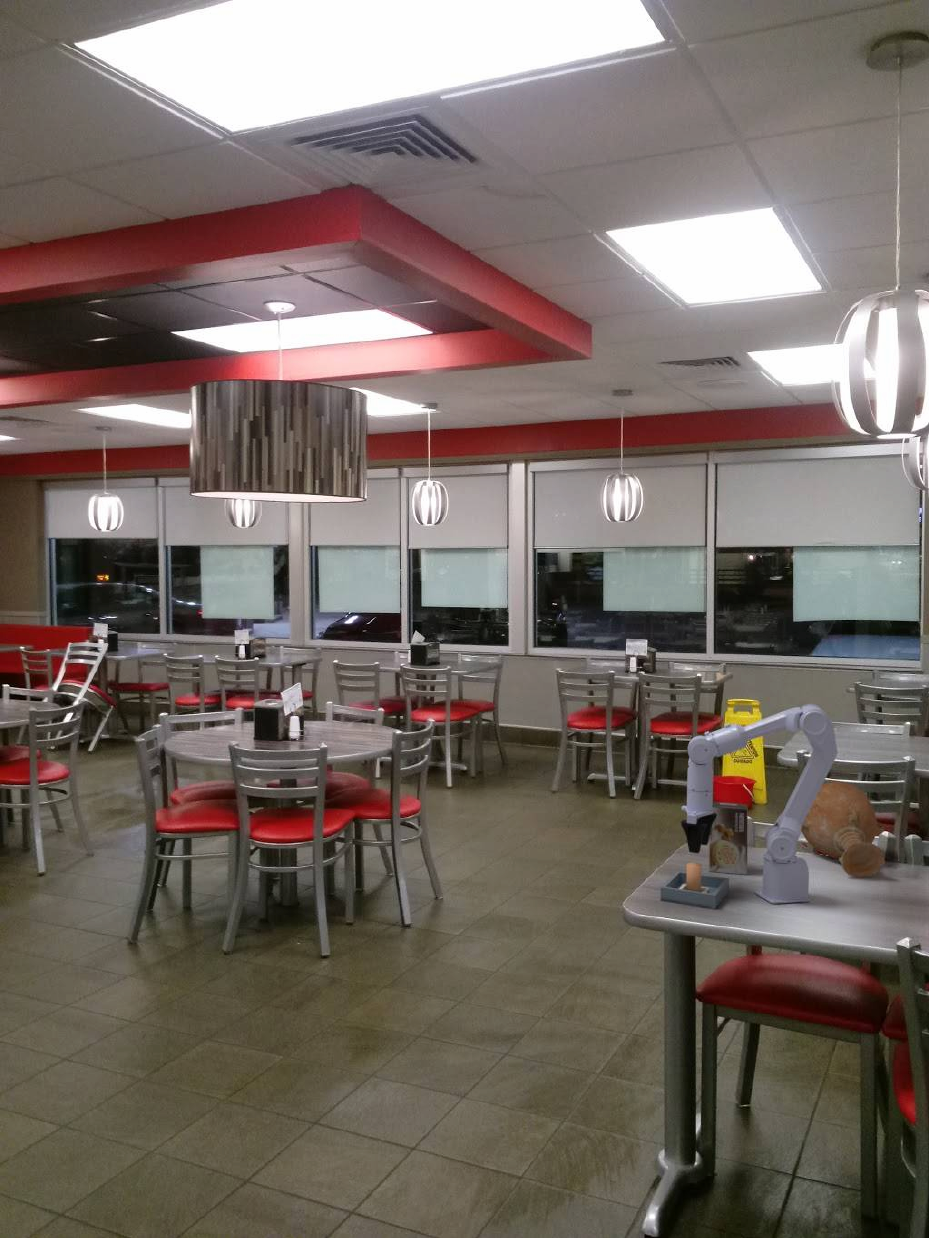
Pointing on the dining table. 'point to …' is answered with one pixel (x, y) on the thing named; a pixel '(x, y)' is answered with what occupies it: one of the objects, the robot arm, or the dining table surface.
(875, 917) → the dining table surface
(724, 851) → the coffee box
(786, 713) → the robot arm
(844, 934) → the dining table surface
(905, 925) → the dining table surface
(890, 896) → the dining table surface
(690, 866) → the peg
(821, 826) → the jug
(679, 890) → the tray box
